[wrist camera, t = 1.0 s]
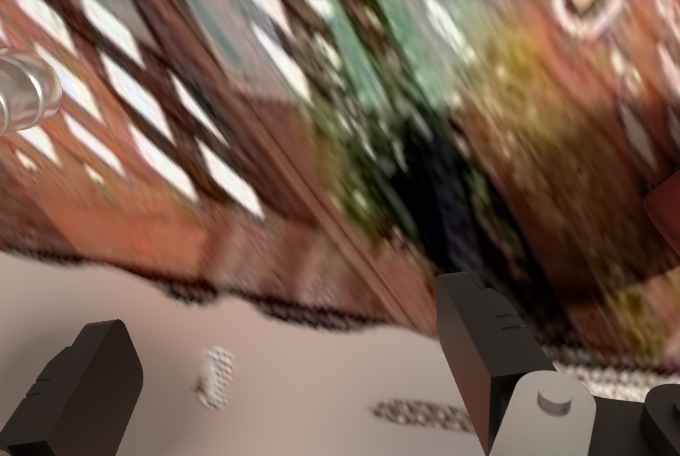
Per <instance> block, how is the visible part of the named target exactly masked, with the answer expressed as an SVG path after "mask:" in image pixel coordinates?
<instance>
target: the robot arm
mask: <svg viewBox="0 0 680 456" xmlns="http://www.w3.org/2000/svg"><path fill="white" fill-rule="evenodd" d="M436 302H437V329H438V335H439V340H440V344H441V347H442V350H443V352H444V354H445V357H446V359H447V362H448V364H449V367H450V369H451V372H452V374H453V376H454V379H455V382H456V384H457V386H458V389H459V391H460V394H461V396H462V399H463V401H464V404H465V406H466V409H467V411H468V414H469V416H470V419H471V421H472V423H473V426H474V428H475V431H476V433H477V436H478V438H479V441H480V443H481V446H482V448H483V450H484V453H485V456H680V384H663V385H659V386H656V387H654V388H652V389H651V390H650V391H649V392H648V393H647V395H646V398H645V402H644V403H641V402H632V401H624V400H615V399H607V398H601V397H598V396H594V395H592V394H591V392H590V391H589V390H588V389H587V388H586V387H585V386H584V385H583V384H582V383H581V382H579V381H577V380H576V379H574V378H572V377H570V376H568V375H565V374H563V373H559V372H557V370H556V369H555V367H554V366H553V364H552V363H551V361H550V360H549V358H548V357H547V356H546V354H545V353H544V351H543V350H542V348H541V347H540V345H539V344H538V342H537V341H536V340H535V338H534V337H533V335H532V334H531V332H530V331H529V329H528V328H526V327H525V324H524V322H523V321H522V319H521V318H520V316H518V315H517V312H516V310H515V309H514V308H513V306H512V305H511V303H510V302H509V300H508V299H507V298H505V297H504V296H502V295H501V294H499V293H498V292H496V291H495V290H493V289H492V288H487V289H480V290H478V288H477V286H476V285H475V283H474V281H473V280H472V278H471V276H470V275H469V273H468V272H466V271H465V272H458V273H451V274H444V275H438V276H437V278H436ZM142 385H143V370H142V365H141V363H140V360H139V358H138V356H137V353H136V350H135V348H134V345H133V343H132V341H131V338H130V336H129V333H128V331H127V328H126V326H125V324H124V323H123V322H122V321H121V320H119V319H117V320H110V321H103V322H96V323H89V324H86V325H85V326H84V328H83V329H82V330H81V332H80V334H79V335H78V337H77V338H76V340H75V341H74V343H73V344H72V346H69V347H66V348H65V349H63V350H62V351H61V352H60V353H59V354H58V355H56V356H55V357H54V358H53V359H52V360H51V361H50V362H48V363H47V365H46V366H45V368H44V369H43V371H42V372H41V374H40V375H39V377H38V378H37V379H36V384H33V386H32V387H31V388H30V390H29V391H28V393H27V394H26V398H24V399H23V400H22V402H21V403H20V404H19V406H18V408H17V409H16V410H15V412H14V413H13V415H12V416H11V418H10V419H9V420H8V422H7V424H6V425H5V426H4V428H3V429H2V431H1V432H0V456H115V455H116V452H117V450H118V447H119V445H120V442H121V440H122V437H123V435H124V432H125V430H126V427H127V425H128V422H129V419H130V417H131V415H132V412H133V410H134V407H135V405H136V402H137V400H138V397H139V395H140V392H141V389H142Z"/></svg>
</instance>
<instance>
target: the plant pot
mask: <svg viewBox="0 0 680 456" xmlns="http://www.w3.org/2000/svg"><path fill="white" fill-rule="evenodd" d="M643 207H644V208H645V210H646V212H647V214H648V215H649V217H650V219H651V220H652V222H653V223H654V225H655V226H656V227H657V229H658V230H659V232H660V233H661V234H662V235H663V237H664V238H665V239H666V240H667V241H668V243H669V244H670V245H671V246H672V248H673V249H674V250H675V251H676V252H677V254H678V255H679V256H680V169H679V170H678V171H677V172H675V173H674V174H673V175H671V176H670V177H669V178H667V179H666V180H665V181H664V182H662V183H661V184H660V185H658V186H657V187H656V188H654V189H653V190H652V191H650V192H649V193H648V194H647V195H646V196H645V197H644V199H643Z"/></svg>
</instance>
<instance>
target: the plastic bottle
mask: <svg viewBox="0 0 680 456" xmlns="http://www.w3.org/2000/svg"><path fill="white" fill-rule="evenodd" d="M61 101H62V87H61V83H60V80H59V78H58V76H57V74H56V73H55V71H54V69H53V68H52V67H51V66H50V65H49V64H48V63H47V62H46V61H45V60H44V59H43V58H42V57H40V56H38V55H37V54H35V53H33V52H30V51H28V50H23V49H14V48H1V49H0V137H1V136H3V135H6V134H9V133H12V132H15V131H18V130H24V129H29V128H33V127H37V126H39V125H42V124H44V123H45V122H47V121H48V120H49V119H50V118H51V117H52V116H53V115H54V114H55V113H56V111H57V110H58V109H59V107H60V104H61Z"/></svg>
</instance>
